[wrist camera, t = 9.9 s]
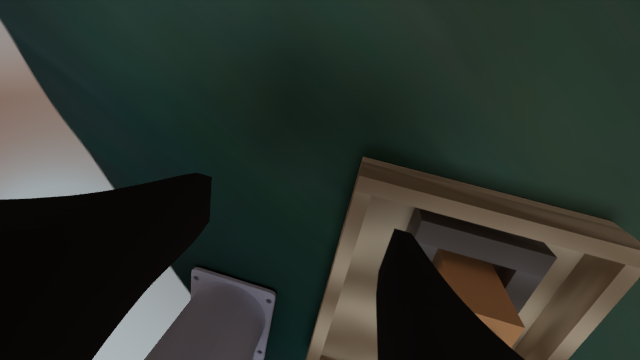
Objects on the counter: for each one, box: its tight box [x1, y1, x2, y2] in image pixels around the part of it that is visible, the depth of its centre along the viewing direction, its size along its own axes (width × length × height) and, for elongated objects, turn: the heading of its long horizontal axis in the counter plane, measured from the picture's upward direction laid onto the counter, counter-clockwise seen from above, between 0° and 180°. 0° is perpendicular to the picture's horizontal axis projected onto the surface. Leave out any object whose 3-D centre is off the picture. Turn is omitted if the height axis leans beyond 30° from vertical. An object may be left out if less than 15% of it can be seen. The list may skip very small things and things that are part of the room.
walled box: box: [306, 157, 640, 360], centre depth 22 cm, size 20×16×4 cm
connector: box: [432, 248, 525, 347], centre depth 18 cm, size 3×3×7 cm
